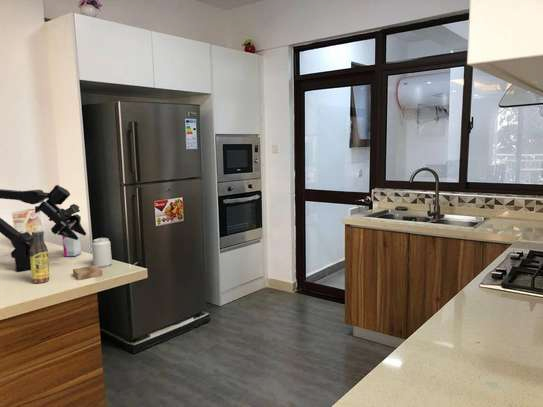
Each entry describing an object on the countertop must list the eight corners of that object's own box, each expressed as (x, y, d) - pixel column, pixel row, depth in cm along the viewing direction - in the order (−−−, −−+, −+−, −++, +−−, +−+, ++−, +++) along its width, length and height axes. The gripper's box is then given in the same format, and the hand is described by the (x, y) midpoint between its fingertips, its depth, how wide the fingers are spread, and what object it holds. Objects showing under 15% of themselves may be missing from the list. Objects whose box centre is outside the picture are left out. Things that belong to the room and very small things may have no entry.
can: (94, 269, 180) (92, 241, 179) (93, 265, 187) (90, 238, 185) (113, 266, 183) (111, 239, 182) (111, 262, 190) (109, 236, 189)
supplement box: (81, 254, 208) (79, 231, 206) (75, 257, 202) (73, 233, 201) (70, 254, 209) (68, 231, 207) (63, 257, 203) (61, 233, 201)
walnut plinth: (78, 280, 165) (78, 274, 164) (73, 275, 172) (72, 269, 172) (102, 275, 170) (101, 269, 170) (96, 270, 177) (95, 265, 177)
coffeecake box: (28, 248, 223) (24, 212, 221) (15, 248, 224) (11, 212, 221) (43, 242, 238) (40, 208, 236) (31, 242, 238) (27, 208, 236)
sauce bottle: (37, 285, 160) (32, 233, 158) (28, 282, 163) (23, 232, 161) (54, 280, 166) (49, 230, 163) (45, 278, 169) (40, 229, 166)
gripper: (57, 201, 171) (86, 227, 173) (74, 196, 190) (101, 220, 192) (38, 221, 171) (68, 246, 174) (57, 214, 190) (84, 237, 192)
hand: (81, 236), depth 183 cm, fingers open, 9 cm apart
